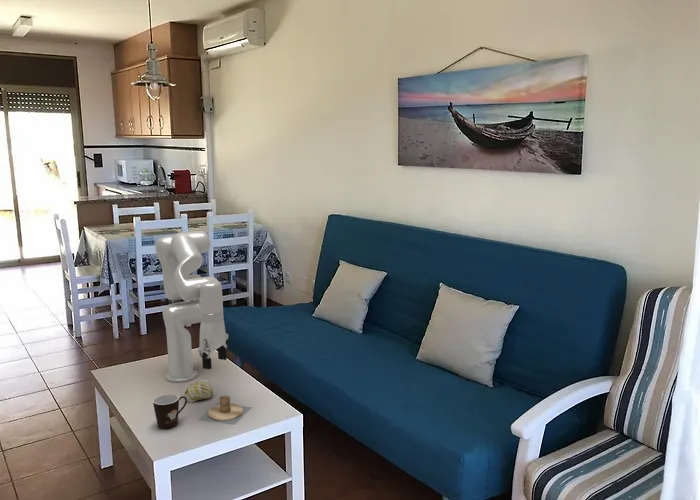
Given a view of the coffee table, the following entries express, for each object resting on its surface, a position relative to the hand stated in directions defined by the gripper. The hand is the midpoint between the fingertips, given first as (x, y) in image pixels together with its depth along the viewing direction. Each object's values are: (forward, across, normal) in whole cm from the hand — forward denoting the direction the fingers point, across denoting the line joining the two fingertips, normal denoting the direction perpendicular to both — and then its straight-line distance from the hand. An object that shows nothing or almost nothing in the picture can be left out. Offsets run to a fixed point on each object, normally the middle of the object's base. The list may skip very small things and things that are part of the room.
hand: (215, 363), depth 206 cm
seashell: (+20, -10, -15) cm, 27 cm away
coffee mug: (+20, +11, -11) cm, 25 cm away
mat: (+20, -2, +2) cm, 20 cm away
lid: (+19, -2, +2) cm, 19 cm away
